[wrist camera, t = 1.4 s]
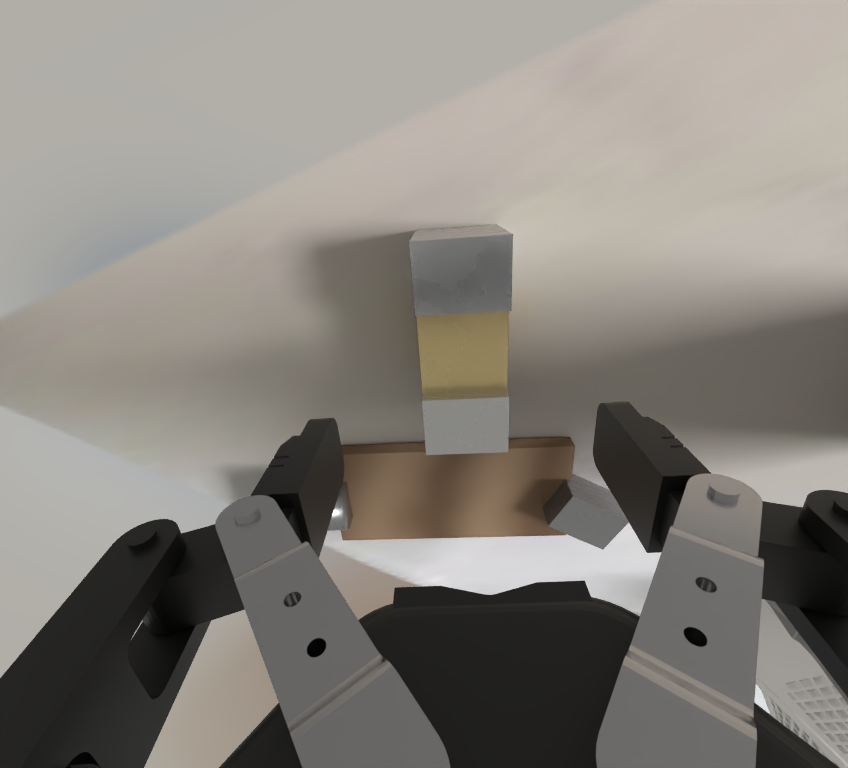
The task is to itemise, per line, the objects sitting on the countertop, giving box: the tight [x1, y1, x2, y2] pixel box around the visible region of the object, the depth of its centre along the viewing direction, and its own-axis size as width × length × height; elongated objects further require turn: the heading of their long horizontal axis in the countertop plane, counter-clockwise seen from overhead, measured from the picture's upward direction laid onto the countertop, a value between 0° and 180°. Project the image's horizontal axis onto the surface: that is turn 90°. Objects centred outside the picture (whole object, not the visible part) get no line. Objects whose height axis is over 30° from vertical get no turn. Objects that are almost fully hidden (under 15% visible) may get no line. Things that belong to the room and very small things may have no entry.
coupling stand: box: [328, 437, 629, 549], centre depth 25 cm, size 21×7×4 cm, turn 94°
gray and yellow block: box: [409, 225, 513, 455], centre depth 20 cm, size 4×10×5 cm, turn 4°
